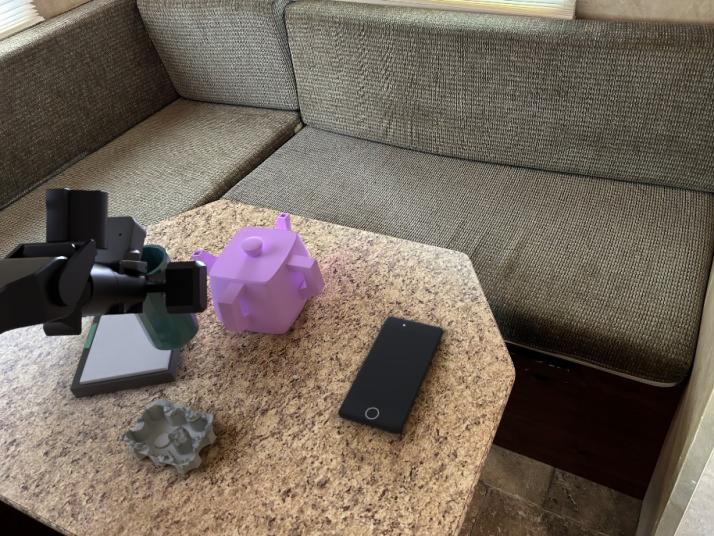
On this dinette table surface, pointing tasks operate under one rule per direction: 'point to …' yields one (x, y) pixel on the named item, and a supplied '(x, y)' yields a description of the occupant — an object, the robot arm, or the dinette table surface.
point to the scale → (121, 358)
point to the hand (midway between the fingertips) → (161, 290)
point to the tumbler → (163, 309)
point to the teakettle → (262, 278)
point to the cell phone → (391, 375)
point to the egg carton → (170, 435)
